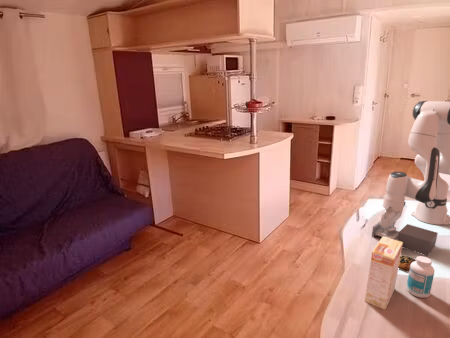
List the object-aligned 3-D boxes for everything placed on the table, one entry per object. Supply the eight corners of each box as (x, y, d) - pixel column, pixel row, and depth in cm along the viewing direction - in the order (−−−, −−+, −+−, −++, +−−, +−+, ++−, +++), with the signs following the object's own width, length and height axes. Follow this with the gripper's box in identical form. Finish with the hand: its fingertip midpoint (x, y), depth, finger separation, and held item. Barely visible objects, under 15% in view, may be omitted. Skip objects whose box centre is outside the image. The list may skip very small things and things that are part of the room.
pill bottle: (422, 286, 117) (429, 254, 114) (433, 299, 110) (441, 265, 107) (402, 285, 118) (408, 253, 114) (411, 297, 111) (418, 264, 107)
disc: (397, 230, 156) (397, 227, 155) (393, 234, 151) (393, 230, 151) (384, 226, 160) (385, 223, 159) (380, 229, 155) (381, 226, 155)
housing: (404, 236, 157) (407, 224, 155) (434, 246, 148) (437, 232, 146) (396, 245, 148) (398, 232, 146) (427, 256, 139) (430, 241, 137)
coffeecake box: (374, 281, 120) (382, 235, 115) (395, 289, 115) (404, 241, 110) (363, 301, 108) (371, 251, 103) (385, 310, 104) (394, 258, 99)
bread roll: (424, 275, 124) (425, 264, 123) (393, 273, 128) (393, 262, 127) (418, 262, 134) (418, 251, 134) (389, 260, 138) (389, 250, 137)
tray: (380, 228, 165) (382, 219, 163) (408, 237, 156) (410, 227, 154) (371, 236, 156) (372, 226, 154) (399, 245, 147) (401, 235, 145)
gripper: (393, 212, 143) (388, 239, 146) (406, 201, 157) (402, 226, 160) (378, 208, 147) (374, 234, 151) (393, 198, 161) (389, 222, 165)
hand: (389, 230), depth 156 cm, fingers closed on disc, 6 cm apart
